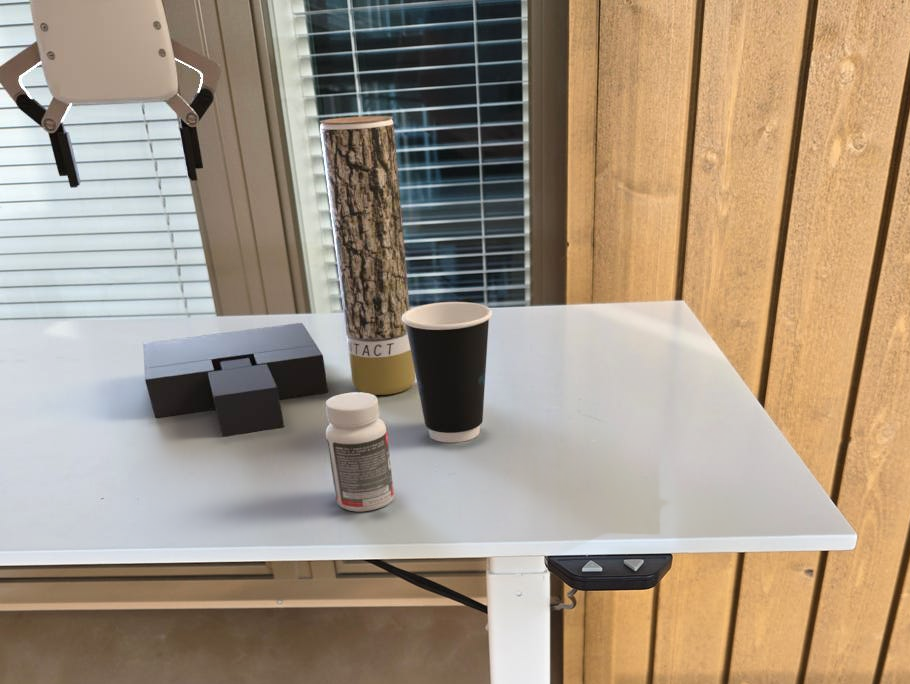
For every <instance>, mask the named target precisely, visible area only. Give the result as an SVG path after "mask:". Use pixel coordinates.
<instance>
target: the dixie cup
mask: <svg viewBox="0 0 910 684" xmlns="http://www.w3.org/2000/svg"><path fill="white" fill-rule="evenodd" d="M492 316H493V312H492V309H491V308H490V307H488V306H487V305H483V304H480V303H475V302H467V301H446V302H445V301H444V302H434V303H428V304H422V305H418V306H416V307H412V308H410V310H408V311H406V312H405V313H404V314H403V315H402V321H403V322H404V323H405V324H406V328H407V334H408V339H409V344H410V349H411V354H412V359H413V364H414V370H415V381H416V384H417V391H418V394H419V399H420V405H421V410H422V415H423V420H424V421H423V422H424V424H425V427H426V428H427V430H428V434H429V438H431V439H432V440H434V441H437V442H441V443H448V444H449V443H461V442H462V443H463V442H466V441H471V440H473V439H475V438H476V437H478V436H479V435H480V431H481V424H483V420H484V404H485V403H484V402H485V387H486V373H487V372H486V371H487V370H486V369H487V357H488V356H487V355H488V340H489V339H488V338H489V325H490V324H489V322H490V319H491V318H492Z"/></svg>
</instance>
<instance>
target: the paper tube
mask: <svg viewBox="0 0 910 684" xmlns="http://www.w3.org/2000/svg"><path fill="white" fill-rule="evenodd" d="M393 118H394V117H393V116H389V115H365V116H362V115H361V116H348V117H338V118H329V119H322V120H319V123H320V126H319V127H320V128H319V130H320V131H319V132H320V138H321V147H322V153H323V154H322V155H323V161H324V169H325V170H324V171H325V178H326V185H327V186H326V187H327V193H328V201H329V209H330V219H331V226H332V233H333V240H334V249H335V257H336V265H337V271H338V280H339V287H340V296H341V303H342V312H343V319H344V327H345V333H346V342H347V343H346V344H347V350H348V355H349V356H348V357H349V365H350V371H351V380H352V385H353V387H354V388H355V389H356V390H357V392H362V393H369V394H372V395H374V396H387V395H388V396H389V395H394V394H398V393H401V392H404V391H407V390H409V389H410V388H412V386H413V385H415V381H416V375H415V370H414V364H413V359H412V354H411V349H410V344H409V339H408V334H407V328H406V324H405V323H404V322H403V321H402V315H403V314H404V313H405V312H406V311H408V310H410V309H411V307H410V306H411V305H410V297H409V285H408V273H407V260H406V251H405V250H406V249H405V238H404V225H403V213H402V204H401V192H400V180H399V168H398V167H399V166H398V155H397V146H396V145H397V144H396V133H395V124H394V121H393Z"/></svg>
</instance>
